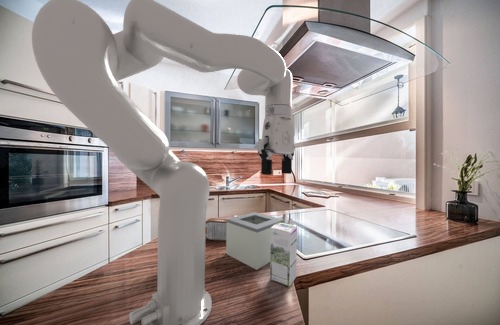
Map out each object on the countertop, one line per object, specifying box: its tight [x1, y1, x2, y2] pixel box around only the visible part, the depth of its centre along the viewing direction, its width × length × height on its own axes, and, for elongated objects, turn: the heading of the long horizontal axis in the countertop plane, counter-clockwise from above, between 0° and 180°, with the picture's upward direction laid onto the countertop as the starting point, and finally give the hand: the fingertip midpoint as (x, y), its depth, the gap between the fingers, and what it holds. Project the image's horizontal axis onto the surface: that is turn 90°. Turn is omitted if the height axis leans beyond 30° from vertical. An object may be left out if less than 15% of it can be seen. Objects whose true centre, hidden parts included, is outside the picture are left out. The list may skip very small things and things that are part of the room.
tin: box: [205, 217, 228, 242], centre depth 79 cm, size 15×3×8 cm, turn 84°
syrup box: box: [269, 222, 298, 287], centre depth 53 cm, size 6×6×14 cm
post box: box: [225, 211, 285, 271], centre depth 67 cm, size 14×14×12 cm
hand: (277, 173), depth 56 cm, fingers open, 9 cm apart
